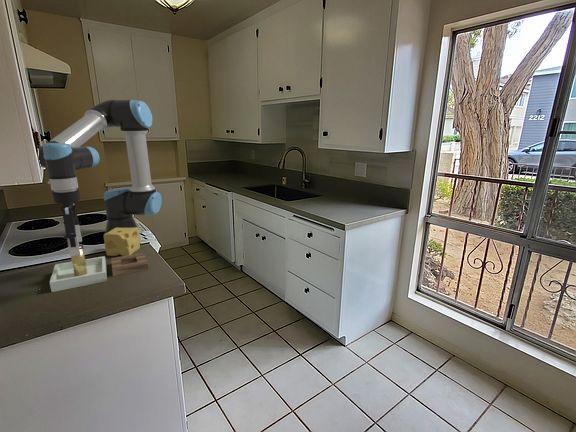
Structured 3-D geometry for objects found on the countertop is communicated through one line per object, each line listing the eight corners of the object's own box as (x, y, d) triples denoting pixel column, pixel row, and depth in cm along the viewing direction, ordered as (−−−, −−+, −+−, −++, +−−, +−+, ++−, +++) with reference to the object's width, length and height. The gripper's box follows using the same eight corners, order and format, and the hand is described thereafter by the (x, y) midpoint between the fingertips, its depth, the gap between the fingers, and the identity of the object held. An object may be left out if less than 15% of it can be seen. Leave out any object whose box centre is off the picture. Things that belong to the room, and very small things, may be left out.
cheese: (129, 256, 130) (126, 234, 127) (104, 256, 130) (101, 234, 127) (141, 247, 140) (139, 227, 137) (118, 247, 140) (115, 226, 138)
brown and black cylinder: (74, 272, 113) (70, 245, 110) (87, 270, 115) (83, 243, 112) (73, 277, 109) (68, 248, 106) (87, 275, 111) (82, 247, 108)
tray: (57, 272, 115) (55, 264, 114) (106, 264, 123) (104, 256, 122) (51, 292, 102) (49, 282, 101) (107, 281, 109) (105, 272, 108)
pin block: (111, 264, 123) (111, 258, 122) (144, 258, 129) (143, 252, 128) (113, 276, 113) (112, 270, 112) (148, 269, 119) (147, 263, 118)
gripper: (55, 184, 111) (66, 238, 118) (46, 199, 91) (60, 263, 97) (80, 182, 115) (89, 235, 121) (76, 196, 95) (88, 259, 101)
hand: (76, 248), depth 109 cm, fingers open, 13 cm apart
